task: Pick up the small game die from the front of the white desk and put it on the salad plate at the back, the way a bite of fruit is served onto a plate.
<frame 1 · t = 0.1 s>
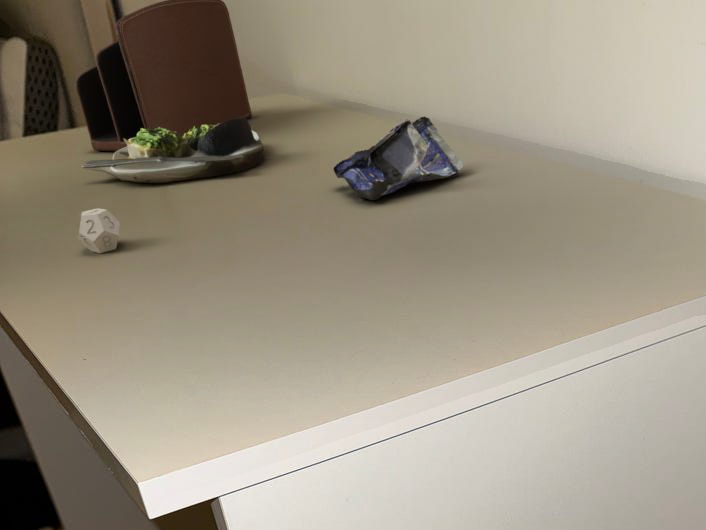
game die: (105, 251, 80), on the table
letter holder: (176, 135, 119), on the table
salad plate: (195, 167, 103), on the table
snack package: (400, 189, 88), on the table
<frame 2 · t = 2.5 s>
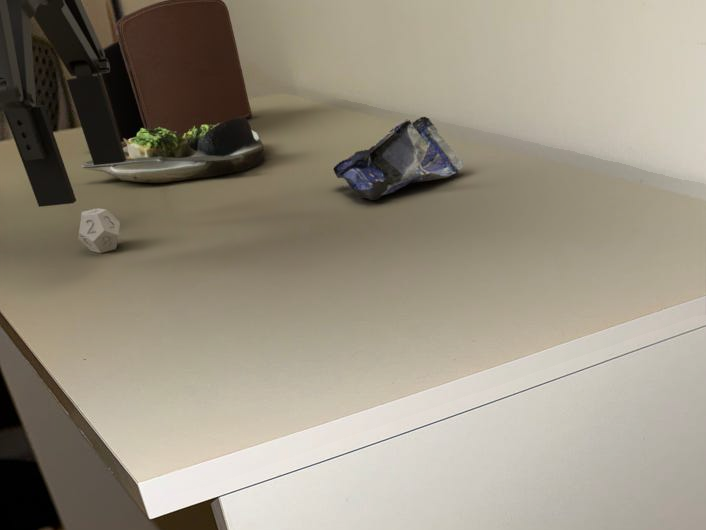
hand: (86, 182, 76), 5 cm above the table, tool pointing down, fingers open, 13 cm apart
nothing on the table moved.
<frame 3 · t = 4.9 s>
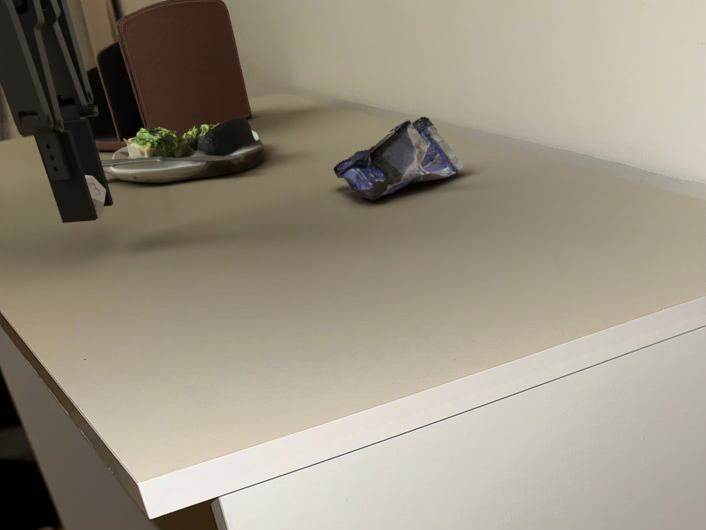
hand: (88, 212, 78), 3 cm above the table, tool pointing down, fingers closed on game die, 4 cm apart
game die: (91, 219, 78), point 2 cm above the table, touching gripper
everything else where it was.
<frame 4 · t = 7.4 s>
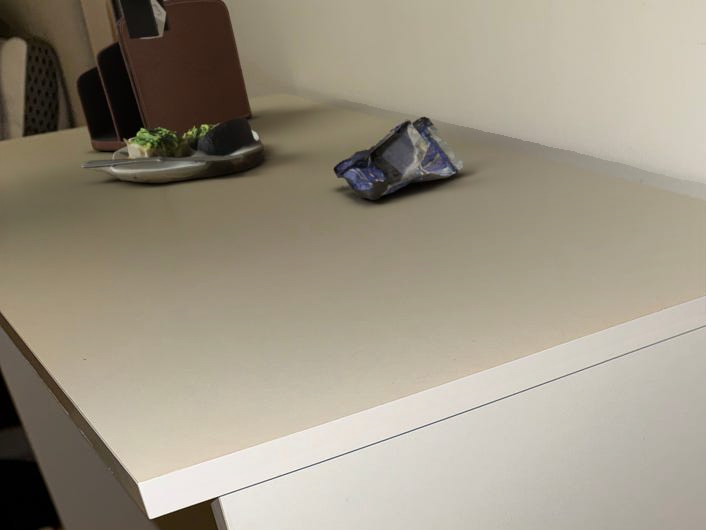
hand: (150, 33, 92), 13 cm above the table, tool pointing down, fingers closed on game die, 4 cm apart
game die: (153, 39, 92), point 12 cm above the table, touching gripper
everything else where it was.
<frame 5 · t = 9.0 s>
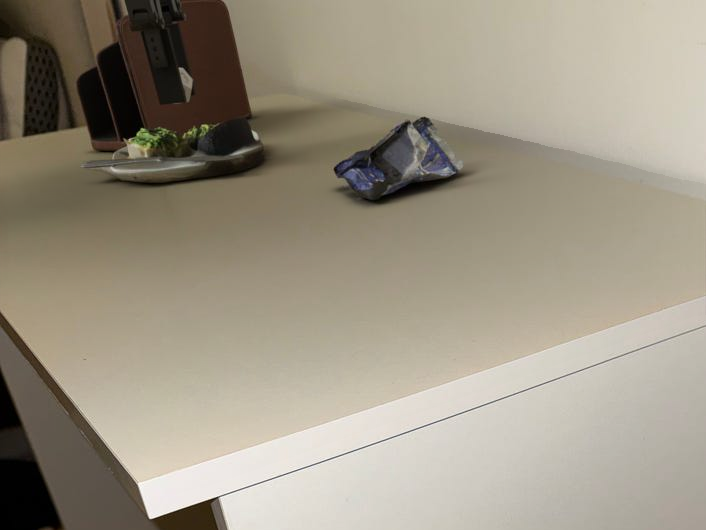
hand: (178, 98, 99), 7 cm above the table, tool pointing down, fingers closed on game die, 4 cm apart
game die: (180, 104, 99), point 6 cm above the table, touching gripper
everything else where it was.
when the fingers open (5 cm above the table, at t = 9.7 s): game die stays where it is, resting on salad plate.
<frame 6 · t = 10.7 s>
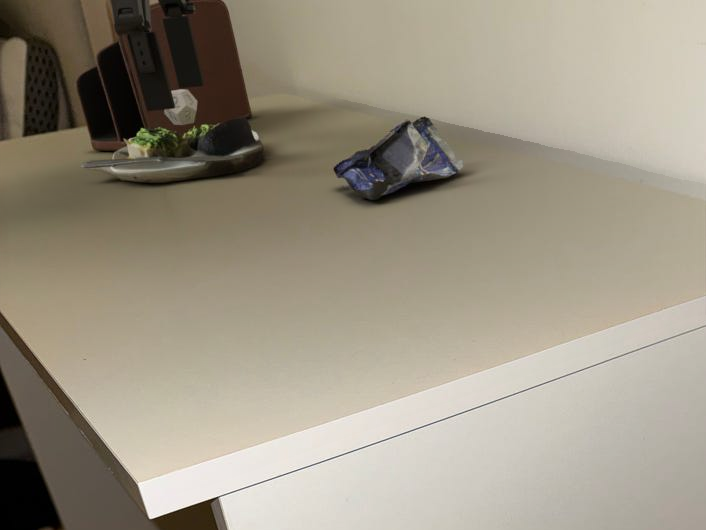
hand: (177, 97, 99), 7 cm above the table, tool pointing down, fingers open, 13 cm apart
game die: (185, 125, 100), point 4 cm above the table, touching salad plate
salad plate: (195, 167, 103), on the table, touching game die
everything else where it was.
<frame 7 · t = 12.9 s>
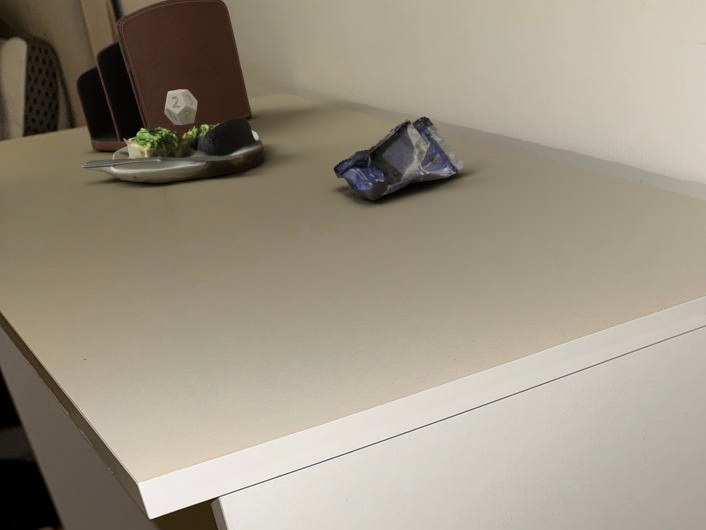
nothing on the table moved.
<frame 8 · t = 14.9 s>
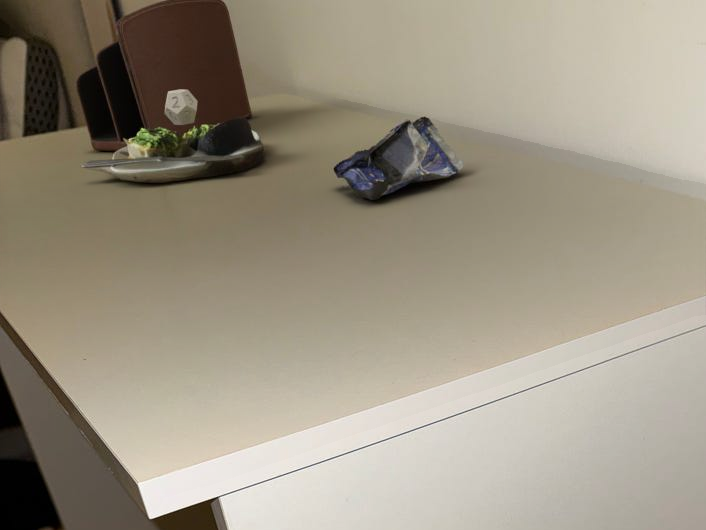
nothing on the table moved.
at the end: game die inside the target area in the salad plate (0.1 cm from its centre), point 4.2 cm above the salad plate's base; the gripper is holding nothing; salad plate moved 0.2 cm from its start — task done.
